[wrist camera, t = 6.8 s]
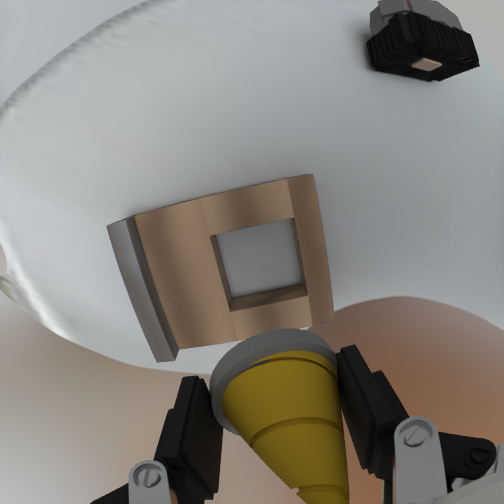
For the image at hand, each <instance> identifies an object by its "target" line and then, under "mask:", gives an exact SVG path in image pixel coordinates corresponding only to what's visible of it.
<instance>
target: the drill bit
mask: <svg viewBox="0 0 504 504" xmlns="http://www.w3.org/2000/svg"><path fill="white" fill-rule="evenodd" d="M209 391H210V398H211V405H212V409H213V413H214V416H215V418H216V419H217V421H218V422H219V424H220V425H222V426H223V427H224V428H225V429H226V430H228V431H230V432H232V433H233V434H236V435H239V436H241V437H242V438H243V439H244V440H245V442H246V443H247V444H248V445H249V446H250V447H251V448H252V449H253V450H254V452H255V453H256V454H257V455H258V456H259V457H260V458H261V459H262V460H263V461H264V462H265V463H266V465H267V466H268V467H269V468H270V469H271V470H272V471H273V472H275V474H276V475H277V476H278V477H279V478H280V479H281V480H282V481H283V482H285V484H286V485H287V486H288V487H290V489H293V488H296V487H297V488H299V492H298V493H297V495H298V496H299V497H300V498H301V499H302V500H304V501H305V502H306V503H307V504H349V483H348V470H347V458H346V449H345V440H344V430H343V421H342V413H341V405H340V398H339V391H338V374H337V360H336V354H335V352H334V351H333V350H332V349H331V348H330V347H329V345H328V344H327V343H326V342H325V340H323V339H322V338H321V337H319V336H318V335H316V334H314V333H311V332H309V331H306V330H300V329H294V328H290V329H276V330H271V331H266V332H263V333H260V334H257V335H254V336H252V337H250V338H248V339H246V340H244V341H242V342H240V343H239V344H237V345H236V346H235V347H233V348H232V349H231V350H229V351H228V352H227V353H226V354H225V355H224V356H223V358H222V359H221V360H220V361H219V362H218V364H217V365H216V367H215V369H214V370H213V373H212V376H211V379H210V390H209Z"/></svg>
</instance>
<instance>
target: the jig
mask: <svg viewBox="0 0 504 504" xmlns="http://www.w3.org/2000/svg"><path fill="white" fill-rule="evenodd" d="M289 218H291V223H292V228H293V234H294V239H295V244H296V250H297V255H298V261H299V267H300V272H301V278H302V284H299V285H295V286H290V287H286V288H281V289H277V290H272V291H267V292H262V293H258V294H253V295H248V296H243V297H238V298H233V299H232V297H231V294H230V290H229V286H228V282H227V279H226V275H225V271H224V267H223V263H222V260H221V256H220V252H219V248H218V244H217V240H216V236H215V234H220V233H224V232H229V231H233V230H238V229H242V228H247V227H251V226H256V225H261V224H265V223H270V222H275V221H279V220H284V219H289ZM107 230H108V233H109V237H110V240H111V244H112V247H113V250H114V254H115V257H116V260H117V263H118V266H119V269H120V272H121V275H122V278H123V281H124V284H125V286H126V289H127V292H128V295H129V297H130V300H131V303H132V305H133V308H134V310H135V313H136V315H137V318H138V320H139V323H140V325H141V328H142V330H143V332H144V335H145V337H146V339H147V342H148V344H149V346H150V348H151V351H152V353H153V355H154V357H155V359H156V361H157V362H167V361H175V359H176V357H177V354H178V351H179V349H186V348H194V347H201V346H208V345H214V344H221V343H227V342H233V341H239V340H244V339H248V338H250V337H252V336H254V335H257V334H260V333H263V332H266V331H271V330H276V329H290V328H294V329H299V328H303V327H308V326H312V325H316V324H320V323H324V322H328V321H332V320H335V317H334V307H333V298H332V289H331V281H330V273H329V266H328V259H327V252H326V245H325V239H324V232H323V226H322V220H321V214H320V208H319V203H318V197H317V192H316V187H315V182H314V177H313V174H308V175H301V176H296V177H290V178H285V179H280V180H275V181H270V182H265V183H261V184H256V185H251V186H247V187H242V188H238V189H233V190H229V191H225V192H220V193H216V194H212V195H208V196H204V197H200V198H196V199H192V200H188V201H184V202H181V203H177V204H173V205H169V206H166V207H162V208H159V209H155V210H151V211H148V212H144V213H141V214H138V215H134V216H131V217H128V218H125V219H123V220H120V221H117V222H115V223H112V224H110V225H107Z"/></svg>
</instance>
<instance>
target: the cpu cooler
mask: <svg viewBox="0 0 504 504" xmlns="http://www.w3.org/2000/svg"><path fill="white" fill-rule="evenodd" d="M370 29H371V32H372V35H373V37H372V38H370V40H369V41H368V42H367V43H366V44H367V48H368V53H369V57H370V62H371V66H372V67H374V68H375V71H377V70H378V71H382V72H385V73H388V72H389V73H391V74H398V75H403V76H408V77H413V78H417V79H421V80H426V81H429V82H430V81H432V80H436V81H442V80H443V79H446V78H449V77H452V76H454V75H457V74H459V73H462V72H465V71H468V70H471V69H473V68H475V67H479V66H480V65H479V59H478V55H477V52H476V49H475V46H474V42H473V39H472V37H471V34H469V33H466V32H465V31H463V29H462V26H461V24H460V22H459V20H458V17H457V16H456V15H455V14H454V13H452V12H451V11H449V10H448V9H447V8H446V7H444V6H443V5H441V4H440V3H439V2H437V1H432V0H381V1H378V7H376V8H375V9H374V10H373V11H372V12H371V13H370Z"/></svg>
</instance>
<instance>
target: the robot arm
mask: <svg viewBox="0 0 504 504" xmlns="http://www.w3.org/2000/svg"><path fill="white" fill-rule="evenodd" d="M336 360H337V374H338V391H339V398H340V405H341V410H342V412H343V415H344V418H345V421H346V424H347V427H348V429H349V432H350V435H351V438H352V441H353V444H354V447H355V450H356V453H357V456H358V459H359V462H360V465H361V468H362V469H363V470H364V469H367V470H368V473H369V474H372V473H374V474H375V476H376V478H379V479H382V504H504V442H500V444H499V445H494V444H493V443H492V442H491V441H489V440H487V439H483V438H474V437H468V436H461V435H455V434H448V433H443V432H438V430H437V427H436V425H435V423H434V422H433V421H431V420H430V419H428V418H426V417H421V416H417V417H411V418H410V417H409V415H408V414H407V412H406V410H405V409H404V407H403V405H402V403H401V402H400V400H399V398H398V397H397V395H396V393H395V391H394V390H393V388H392V386H391V385H390V383H389V382H388V380H387V378H386V377H385V375H384V373H383V372H382V371H381V370H379V371H376V372H373V373H371V371H370V369H369V368H368V366H367V364H366V363H365V361H364V359H363V357H362V356H361V354H360V352H359V350H358V348H357V347H356V345H351V346H347V347H343V348H341V351H340V352H339V353H336ZM222 439H223V426H222V425H220V424H219V422H218V421H217V419H216V418H215V416H214V413H213V409H212V405H211V398H210V392H209V390H208V388H207V386H206V383H205V381H204V379H202V378H201V379H199V377H198V376H187V377H183V378H182V381H181V385H180V388H179V391H178V395H177V398H176V402H175V405H174V408H173V409H169V410H168V413H167V416H166V419H165V422H164V426H163V429H162V432H161V436H160V439H159V442H158V446H157V449H156V453H155V457H154V460H146V461H142V462H140V463H138V464H136V465H135V466H134V467H133V468H132V469H131V471H130V473H129V483H127V484H125V485H123V486H122V487H120V488H118V489H116V490H114V491H112V492H110V493H108V494H106V495H105V496H102V497H100V498H99V499H97V500H94V501H93V502H91V503H90V504H204V500H213V496H214V493H217V492H218V487H219V474H220V463H221V450H222Z"/></svg>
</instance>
